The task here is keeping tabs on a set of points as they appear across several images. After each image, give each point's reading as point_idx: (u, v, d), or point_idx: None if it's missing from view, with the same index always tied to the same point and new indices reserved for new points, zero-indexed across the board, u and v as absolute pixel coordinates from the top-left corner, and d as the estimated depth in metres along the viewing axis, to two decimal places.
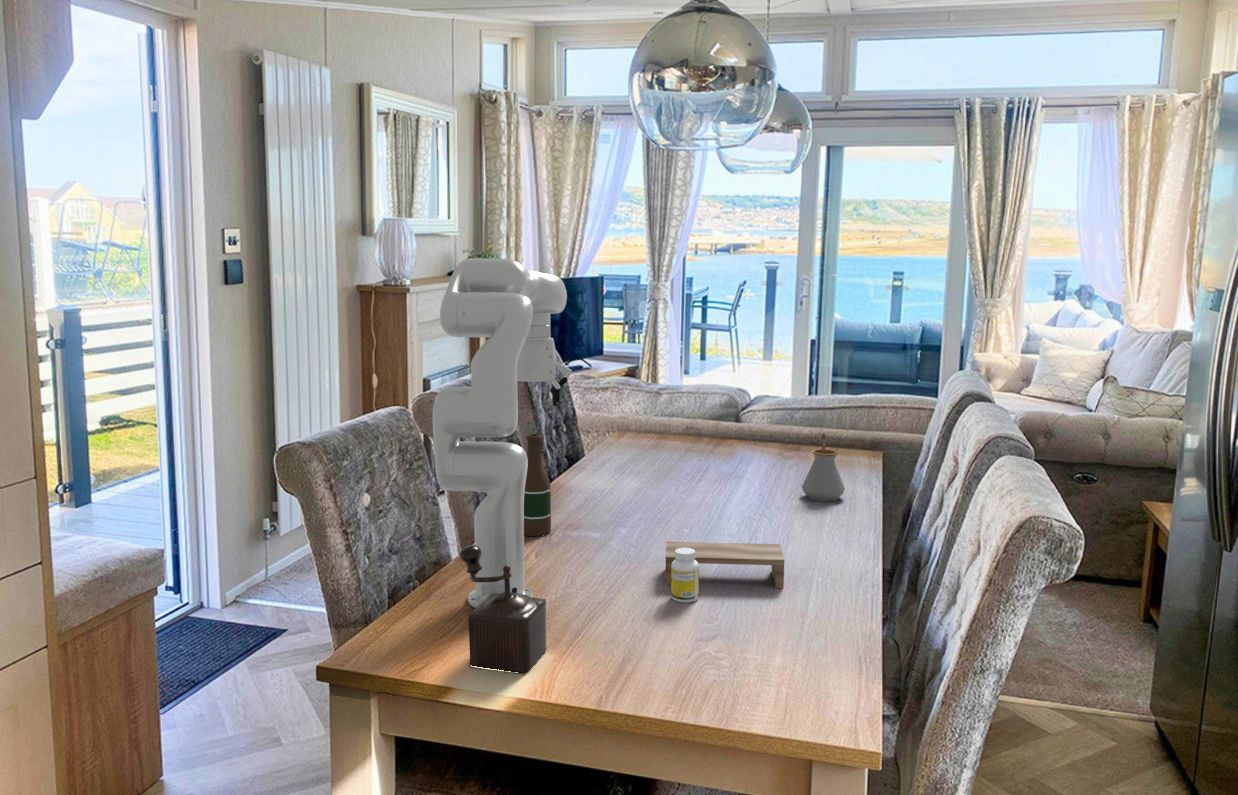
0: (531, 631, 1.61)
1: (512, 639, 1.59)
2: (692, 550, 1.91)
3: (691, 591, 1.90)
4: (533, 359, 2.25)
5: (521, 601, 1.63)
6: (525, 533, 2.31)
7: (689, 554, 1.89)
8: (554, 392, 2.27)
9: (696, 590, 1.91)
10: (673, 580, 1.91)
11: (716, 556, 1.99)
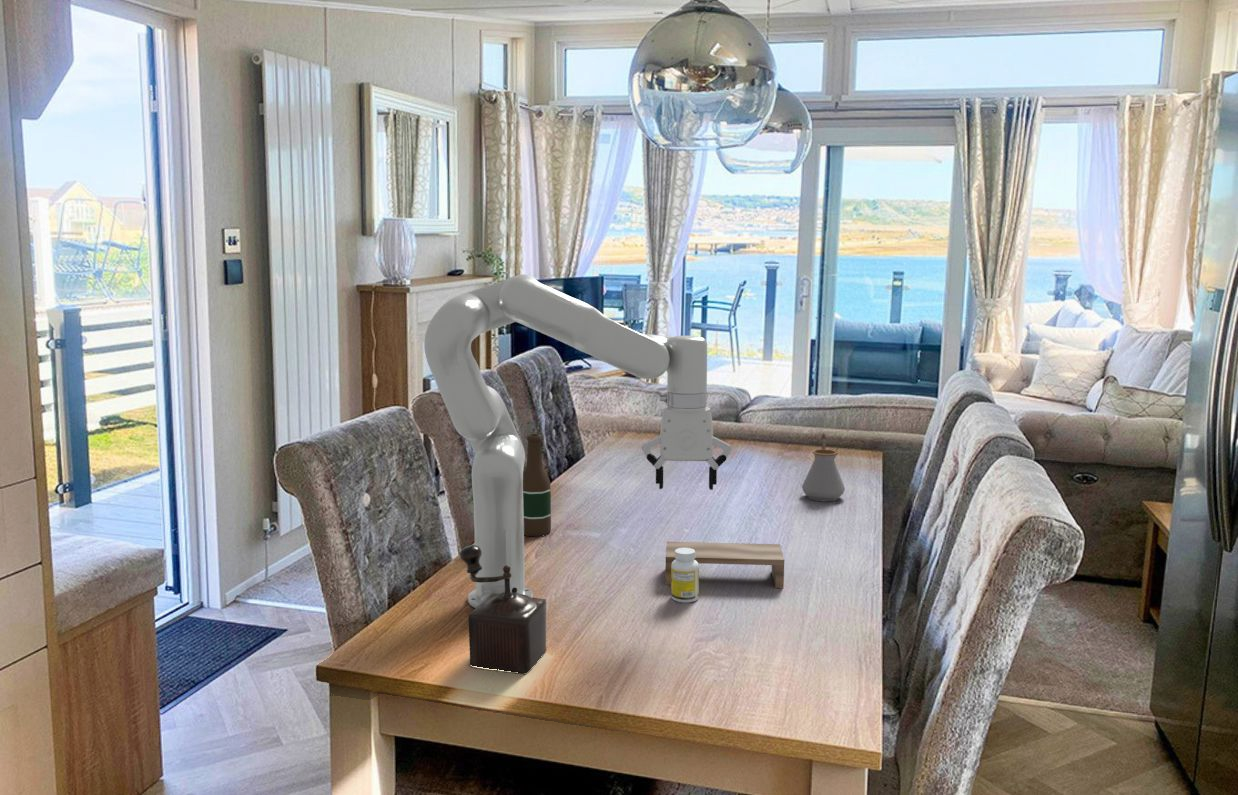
0: (531, 631, 1.61)
1: (512, 639, 1.59)
2: (692, 550, 1.91)
3: (691, 591, 1.90)
4: (687, 434, 1.84)
5: (521, 601, 1.63)
6: (525, 533, 2.31)
7: (689, 554, 1.89)
8: (711, 473, 1.87)
9: (696, 590, 1.91)
10: (673, 580, 1.91)
11: (716, 556, 1.99)
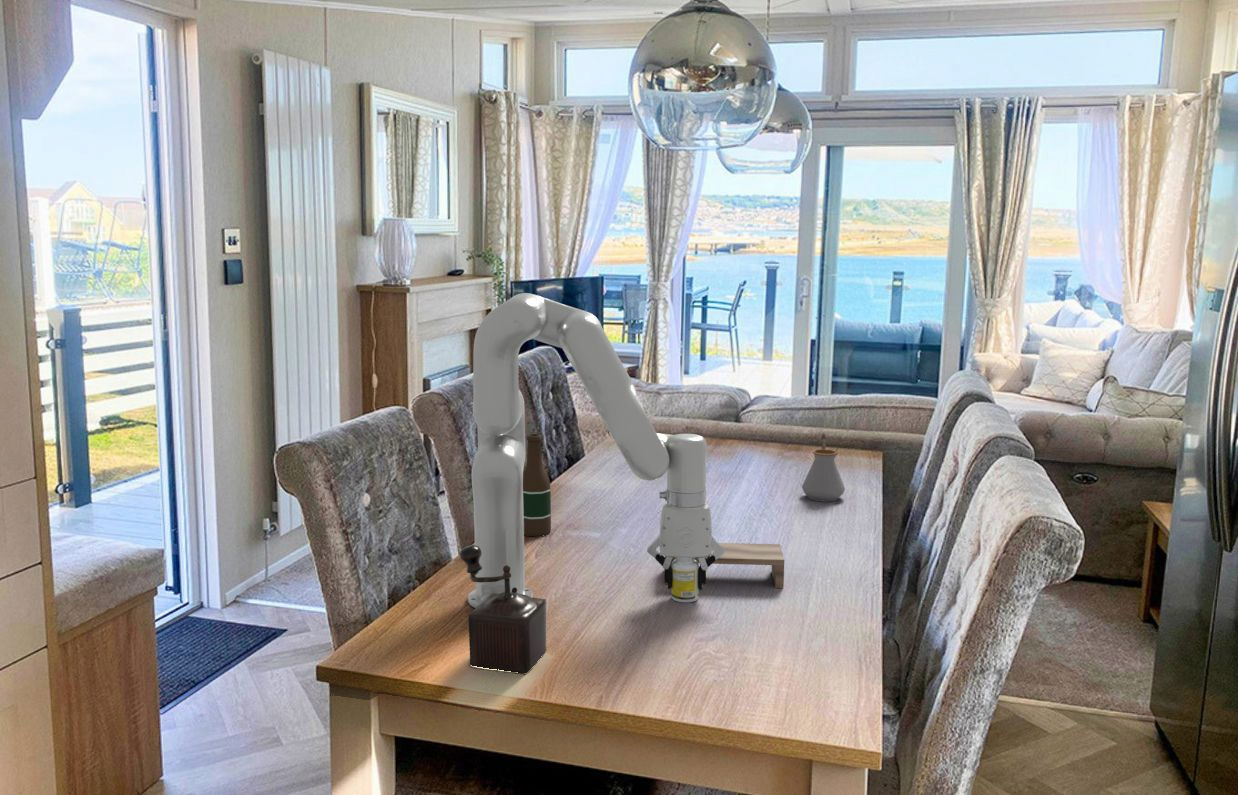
0: (531, 631, 1.61)
1: (512, 639, 1.59)
2: None
3: (691, 591, 1.90)
4: (686, 532, 1.87)
5: (521, 601, 1.63)
6: (525, 533, 2.31)
7: None
8: (700, 574, 1.90)
9: (696, 590, 1.91)
10: (673, 580, 1.91)
11: None
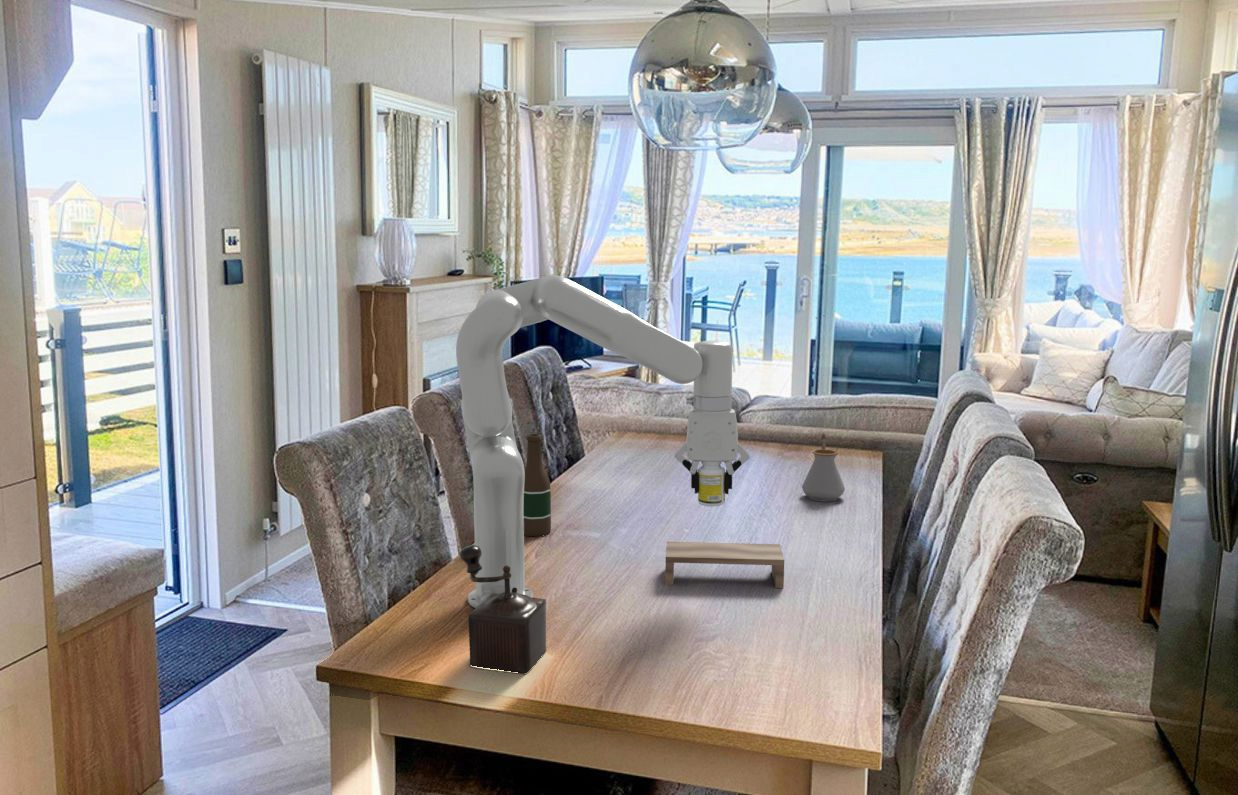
0: (531, 631, 1.61)
1: (512, 639, 1.59)
2: None
3: (718, 495, 1.94)
4: (712, 436, 1.91)
5: (521, 601, 1.63)
6: (525, 533, 2.31)
7: None
8: (726, 478, 1.94)
9: (722, 494, 1.94)
10: (700, 485, 1.95)
11: (716, 556, 1.99)
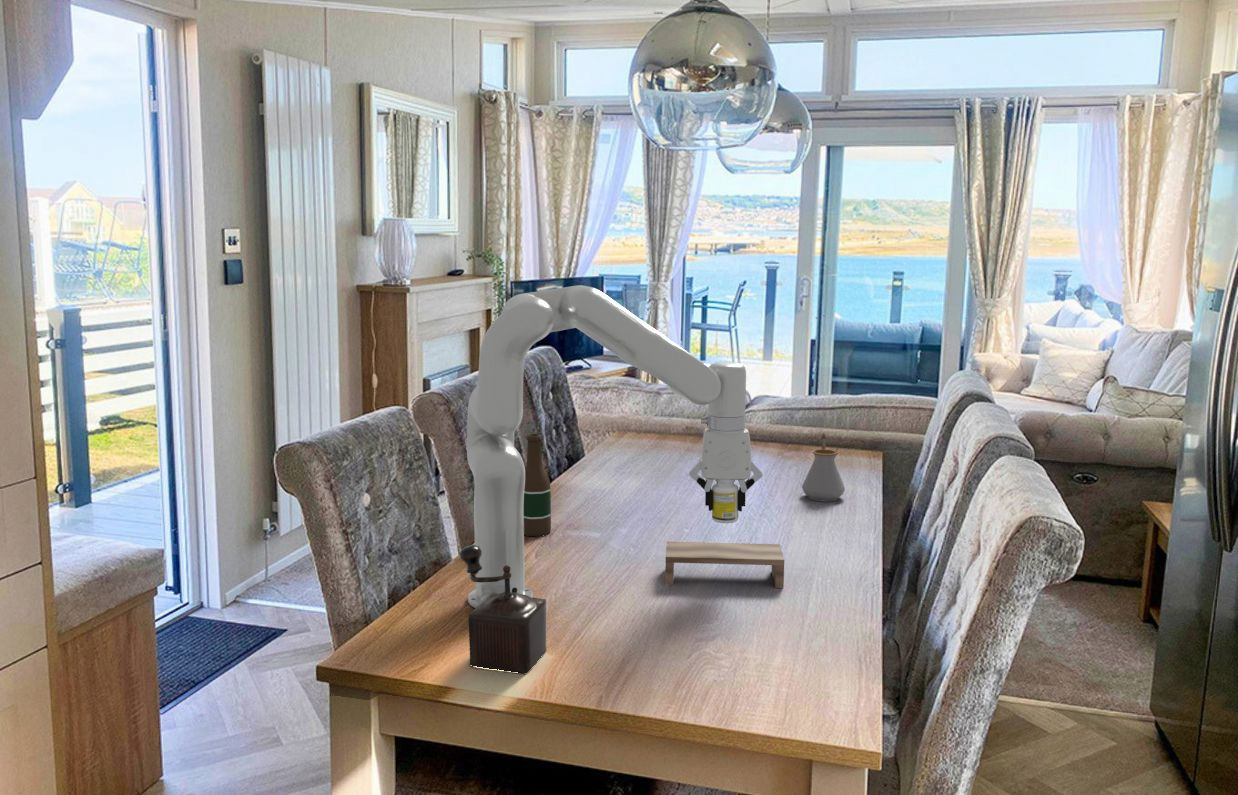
0: (531, 631, 1.61)
1: (512, 639, 1.59)
2: None
3: (732, 512, 1.99)
4: (727, 455, 1.97)
5: (521, 601, 1.63)
6: (525, 533, 2.31)
7: None
8: (740, 496, 1.99)
9: (736, 511, 2.00)
10: (714, 502, 2.00)
11: (716, 556, 1.99)
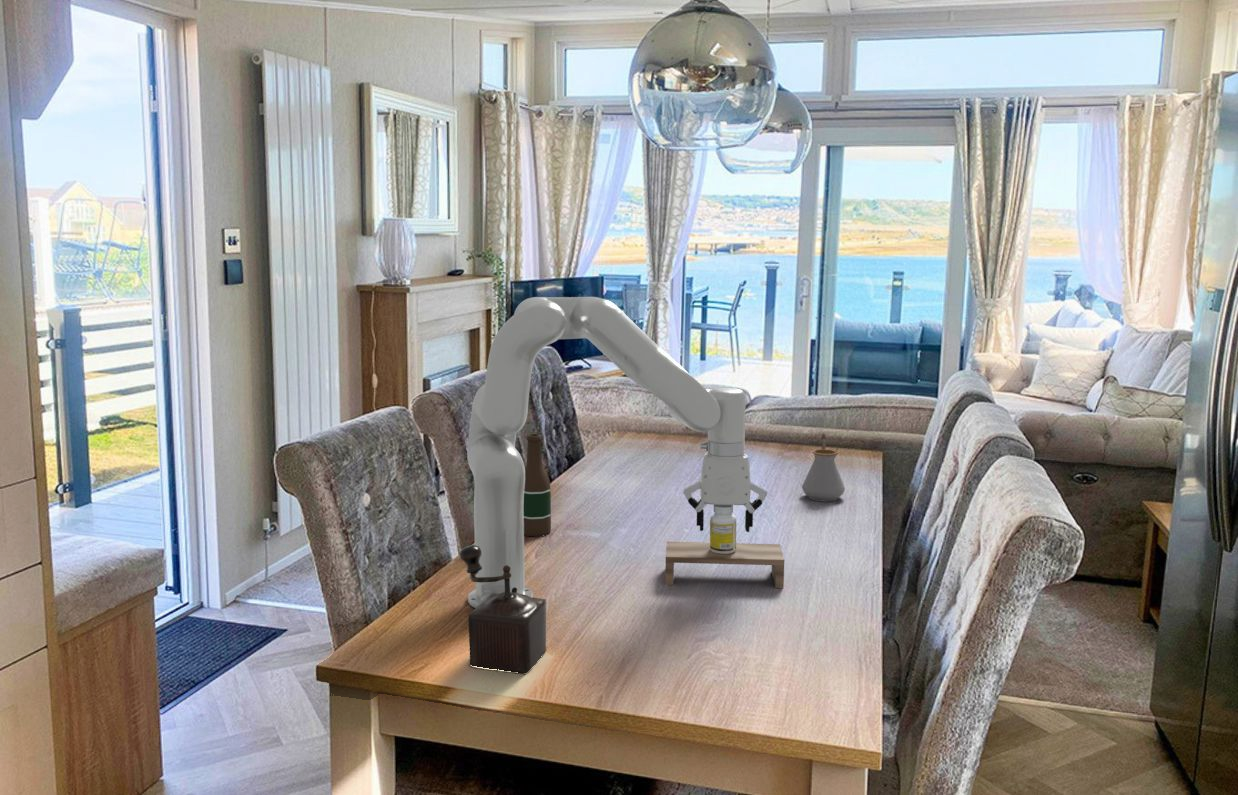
0: (531, 631, 1.61)
1: (512, 639, 1.59)
2: None
3: (729, 543, 2.00)
4: (726, 480, 1.97)
5: (521, 601, 1.63)
6: (525, 533, 2.31)
7: (727, 508, 1.99)
8: (747, 517, 2.00)
9: (734, 542, 2.01)
10: (712, 533, 2.01)
11: (716, 556, 1.99)
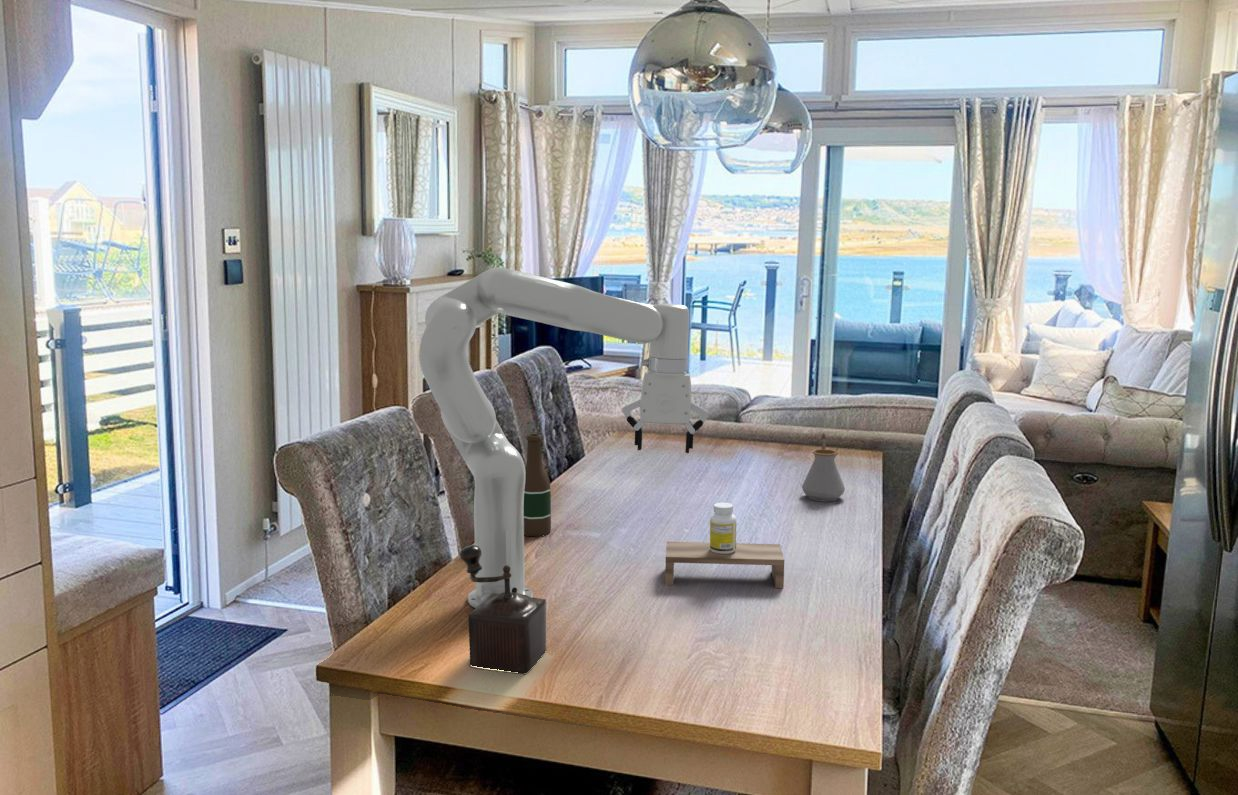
0: (531, 631, 1.61)
1: (512, 639, 1.59)
2: (730, 504, 2.01)
3: (729, 543, 2.00)
4: (666, 398, 1.92)
5: (521, 601, 1.63)
6: (525, 533, 2.31)
7: (727, 508, 1.99)
8: (688, 437, 1.94)
9: (734, 542, 2.01)
10: (712, 533, 2.01)
11: (716, 556, 1.99)
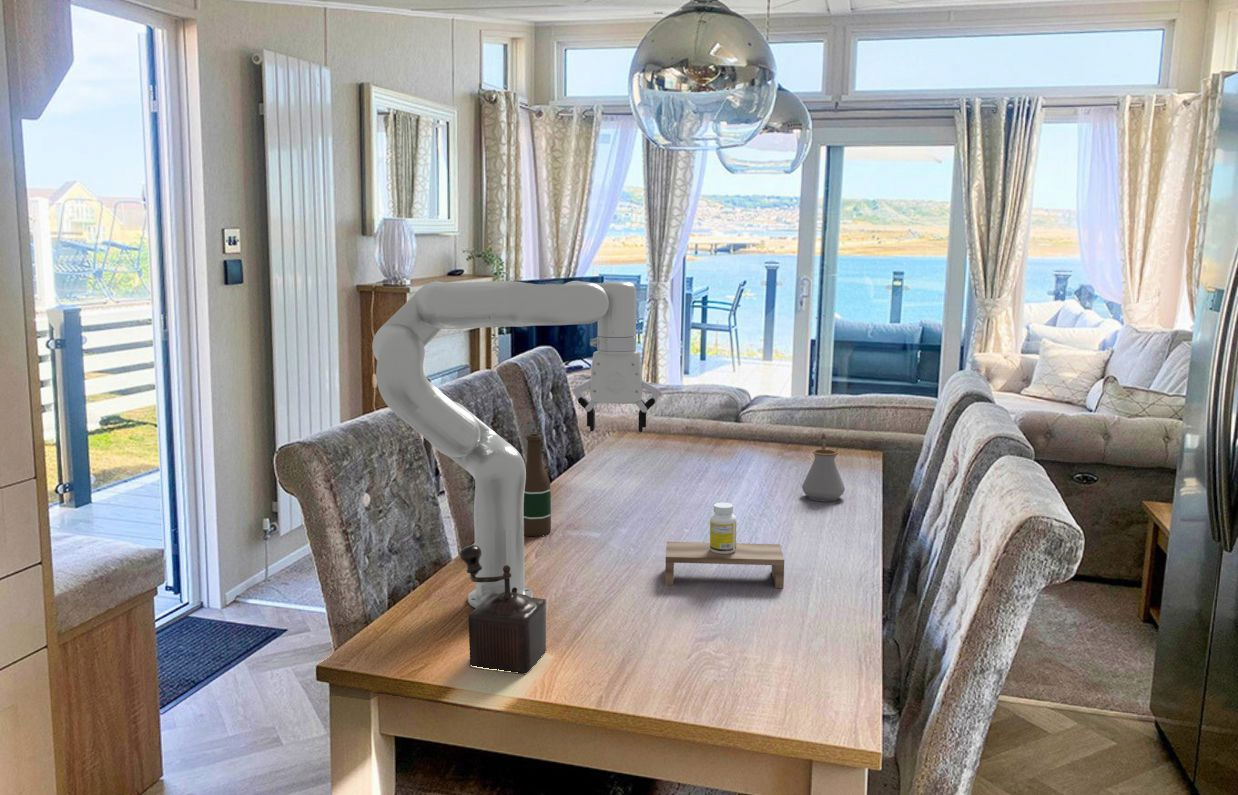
0: (531, 631, 1.61)
1: (512, 639, 1.59)
2: (730, 504, 2.01)
3: (729, 543, 2.00)
4: (616, 377, 1.89)
5: (521, 601, 1.63)
6: (525, 533, 2.31)
7: (727, 508, 1.99)
8: (640, 416, 1.92)
9: (734, 542, 2.01)
10: (712, 533, 2.01)
11: (716, 556, 1.99)
